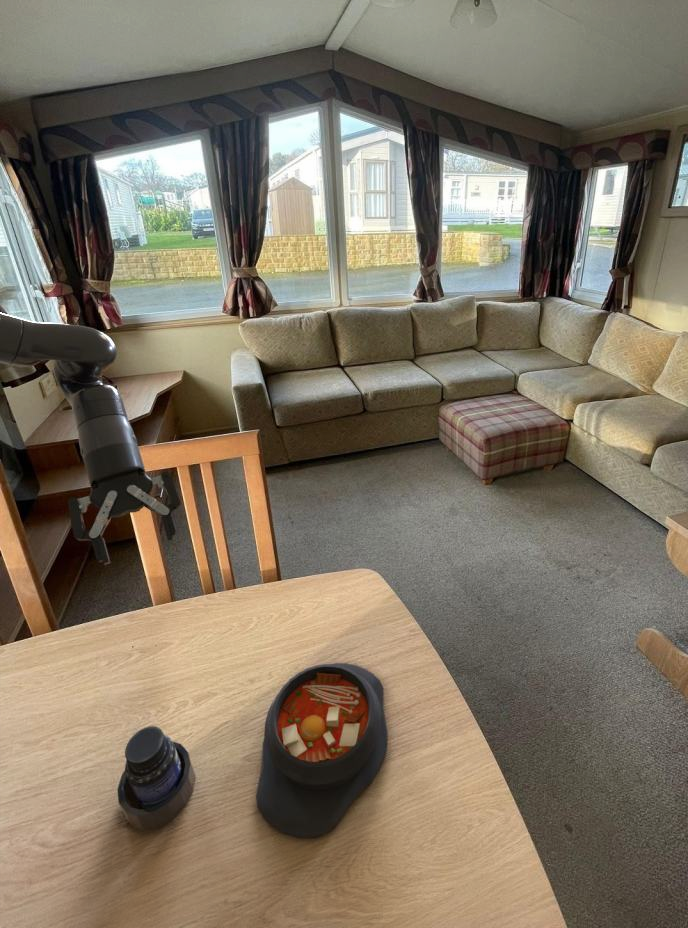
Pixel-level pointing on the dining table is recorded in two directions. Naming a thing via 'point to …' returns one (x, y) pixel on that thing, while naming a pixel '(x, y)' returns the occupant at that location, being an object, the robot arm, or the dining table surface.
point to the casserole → (321, 747)
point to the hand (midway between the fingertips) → (139, 552)
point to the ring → (165, 809)
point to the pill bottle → (152, 766)
